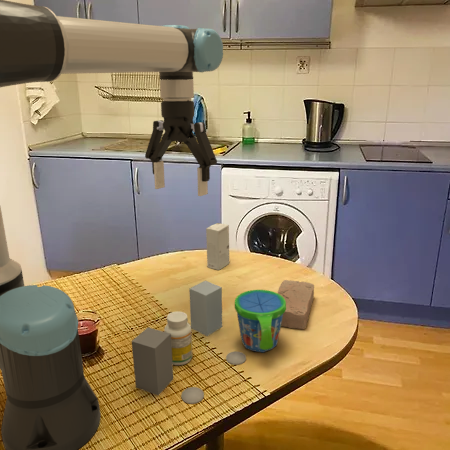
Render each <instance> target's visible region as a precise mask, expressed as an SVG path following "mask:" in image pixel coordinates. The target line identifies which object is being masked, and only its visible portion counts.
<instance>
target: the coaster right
mask: <svg viewBox="0 0 450 450" xmlns="http://www.w3.org/2000/svg"><path fill="white" fill-rule="evenodd" d="M225 357H226V358H225V359H226V361H227V363H228V364H231V365H235V366H237V365H242V364H244V363H245V362H246V360H247V356H246V354H245V353H244V352H241V351H237V350H236V351H230V352H228V353H227V354H226V355H225Z"/></svg>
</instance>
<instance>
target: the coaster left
mask: <svg viewBox="0 0 450 450" xmlns="http://www.w3.org/2000/svg"><path fill="white" fill-rule="evenodd" d="M204 394H205V393H204V391H203V389H201V388H200V387H197V386H192V387H187V388H185V389H183V391H182V392H181V396H180V397H181V400H182V401H183V402H184V403H186V404H189V405H192V404H193V405H195V404H199V403H200V402H201V401H203V399H204V396H205V395H204Z"/></svg>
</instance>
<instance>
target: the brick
mask: <svg viewBox="0 0 450 450" xmlns="http://www.w3.org/2000/svg"><path fill="white" fill-rule="evenodd" d="M277 293H278V294H280V295H281V296H282V297H283V298H284V299H285V301H286V311H285V312H284V313H283V318H282V323H281V327H285V328H290V329H298V330H304V329H306V328H307V325H308V322H309V316H310V312H311V308H312V304H313V301H314V295H315V285H314V283H311V282H307V281H299V280H289V279H288V280H287V279H283V281H281V284H280V285H279V286H278V291H277Z"/></svg>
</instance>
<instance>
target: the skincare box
mask: <svg viewBox="0 0 450 450" xmlns="http://www.w3.org/2000/svg"><path fill="white" fill-rule="evenodd" d="M229 227H230V225H229V224H227V223H226V224H225V223H220V222H217V223H214V224H212V225H209V226H208V227H206V229H205V230H206V231H205V233H206V237H205V238H206V239H205V240H206V262H207V263H206V266H207V268H209V269H212V270H217V271H220V270H222V269H223V268H224V267H227V266H228V265H229V264H230V231H229V230H230V228H229Z"/></svg>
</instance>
